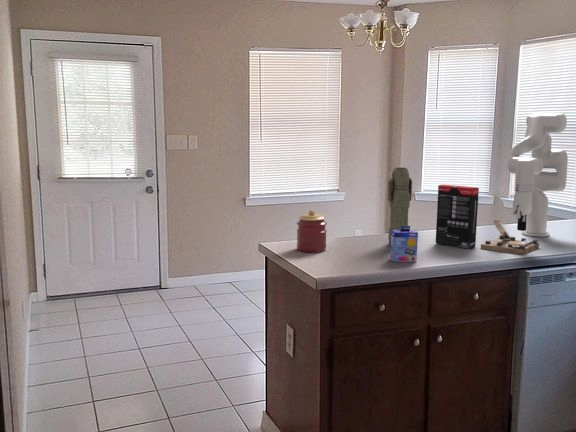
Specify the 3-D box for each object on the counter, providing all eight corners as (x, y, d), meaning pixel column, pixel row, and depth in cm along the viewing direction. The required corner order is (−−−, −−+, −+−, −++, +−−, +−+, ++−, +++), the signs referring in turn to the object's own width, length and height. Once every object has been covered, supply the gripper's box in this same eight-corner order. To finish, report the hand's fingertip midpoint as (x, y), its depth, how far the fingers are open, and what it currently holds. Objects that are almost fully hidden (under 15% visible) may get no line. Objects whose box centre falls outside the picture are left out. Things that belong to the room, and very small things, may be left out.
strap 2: (526, 241, 253) (526, 238, 253) (532, 242, 251) (533, 239, 251) (512, 246, 242) (512, 243, 242) (519, 247, 240) (519, 244, 240)
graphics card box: (476, 247, 252) (480, 186, 248) (469, 249, 247) (473, 187, 243) (441, 241, 264) (444, 183, 259) (434, 244, 259) (437, 184, 254)
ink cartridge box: (393, 262, 224) (394, 226, 222) (389, 259, 229) (390, 224, 227) (417, 262, 225) (418, 226, 222) (413, 258, 230) (414, 223, 228)
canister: (292, 251, 243) (292, 211, 240) (302, 245, 255) (302, 207, 252) (321, 254, 238) (321, 212, 236) (329, 247, 250) (330, 208, 248)
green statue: (381, 244, 258) (383, 167, 252) (401, 241, 264) (403, 166, 258) (394, 247, 250) (397, 169, 245) (414, 245, 256) (417, 168, 251)
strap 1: (504, 238, 260) (504, 236, 261) (510, 239, 258) (511, 237, 259) (493, 222, 249) (494, 220, 250) (500, 223, 247) (501, 220, 248)
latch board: (499, 241, 264) (499, 234, 263) (538, 247, 252) (539, 239, 251) (480, 248, 249) (481, 240, 249) (521, 254, 237) (522, 246, 237)
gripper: (521, 185, 249) (519, 226, 252) (508, 189, 238) (505, 232, 241) (539, 186, 244) (536, 228, 247) (526, 191, 233) (523, 234, 236)
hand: (521, 230), depth 244 cm, fingers closed
